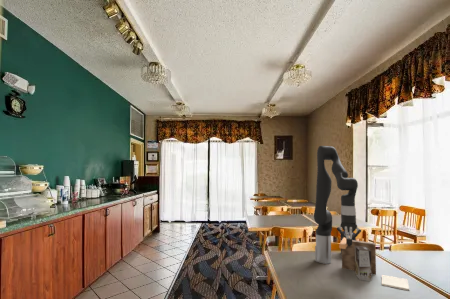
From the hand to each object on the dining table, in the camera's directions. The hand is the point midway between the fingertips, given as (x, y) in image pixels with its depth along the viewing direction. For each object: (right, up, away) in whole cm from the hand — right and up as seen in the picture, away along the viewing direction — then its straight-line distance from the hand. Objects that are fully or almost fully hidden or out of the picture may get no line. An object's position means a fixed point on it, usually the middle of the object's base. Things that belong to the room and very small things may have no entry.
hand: (349, 245), depth 150 cm
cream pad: (+22, -18, -5) cm, 29 cm away
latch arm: (+1, -1, +7) cm, 8 cm away
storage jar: (+19, -22, +43) cm, 52 cm away
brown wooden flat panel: (+11, -19, +12) cm, 25 cm away
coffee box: (+8, -19, +2) cm, 20 cm away
